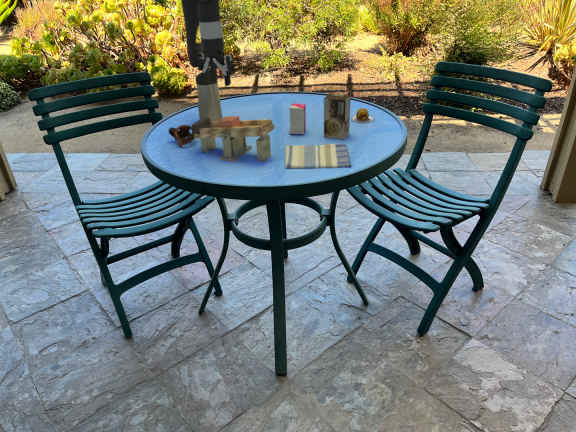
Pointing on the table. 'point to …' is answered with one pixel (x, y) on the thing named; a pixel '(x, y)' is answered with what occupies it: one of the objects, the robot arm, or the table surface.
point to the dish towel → (317, 156)
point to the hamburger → (362, 115)
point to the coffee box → (336, 116)
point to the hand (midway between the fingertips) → (218, 84)
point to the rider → (229, 122)
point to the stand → (238, 147)
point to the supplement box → (297, 119)
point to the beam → (232, 128)
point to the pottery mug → (182, 134)
